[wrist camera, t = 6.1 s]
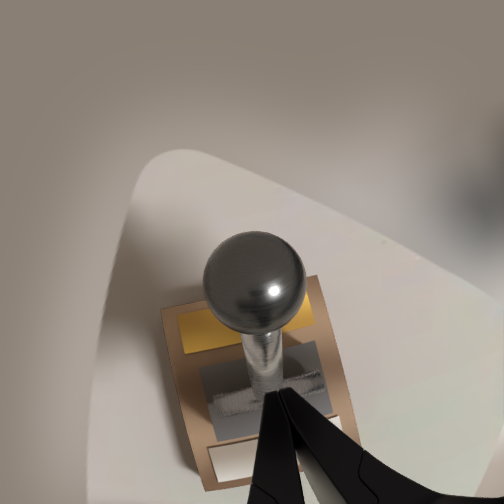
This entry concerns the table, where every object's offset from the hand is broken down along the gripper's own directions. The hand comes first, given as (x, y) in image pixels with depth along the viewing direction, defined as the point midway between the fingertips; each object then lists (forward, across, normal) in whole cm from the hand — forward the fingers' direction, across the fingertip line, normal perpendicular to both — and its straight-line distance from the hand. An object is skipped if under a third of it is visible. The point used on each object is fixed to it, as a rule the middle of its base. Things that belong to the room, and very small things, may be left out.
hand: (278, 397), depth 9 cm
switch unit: (+8, 0, +8) cm, 11 cm away
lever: (+3, 0, +4) cm, 5 cm away
